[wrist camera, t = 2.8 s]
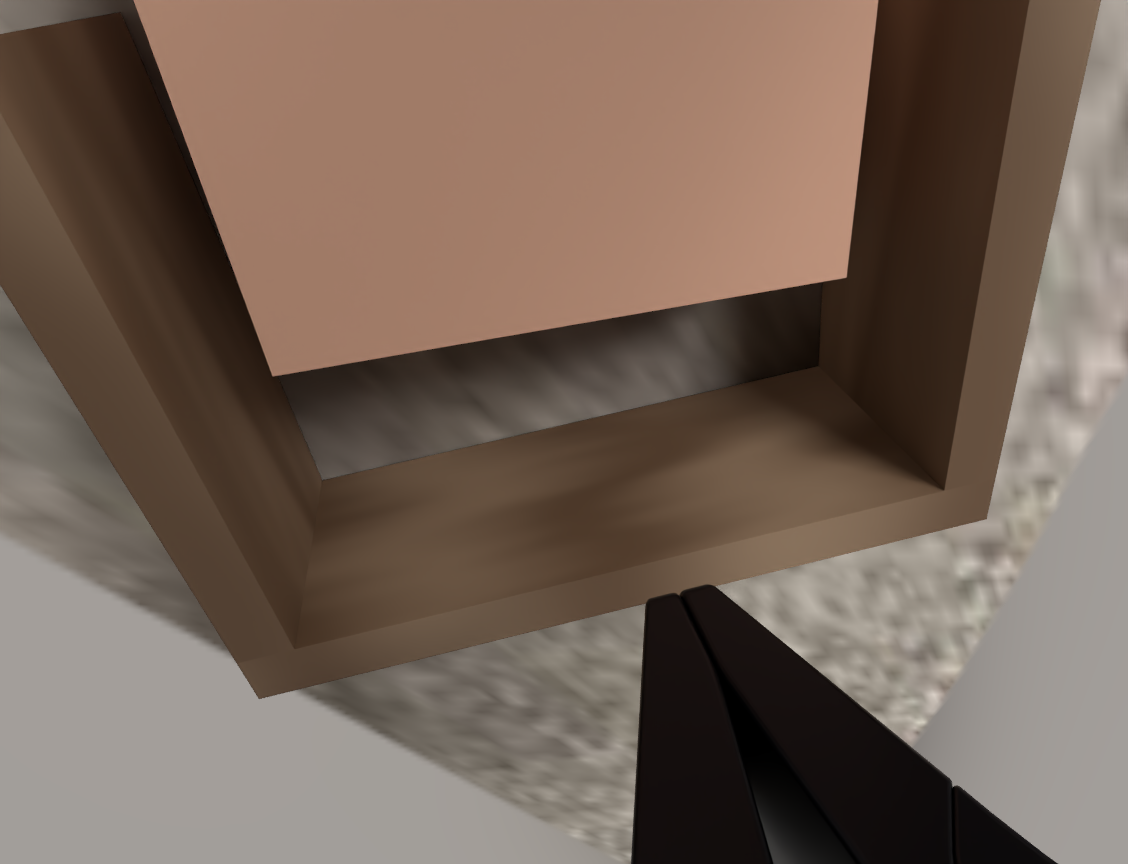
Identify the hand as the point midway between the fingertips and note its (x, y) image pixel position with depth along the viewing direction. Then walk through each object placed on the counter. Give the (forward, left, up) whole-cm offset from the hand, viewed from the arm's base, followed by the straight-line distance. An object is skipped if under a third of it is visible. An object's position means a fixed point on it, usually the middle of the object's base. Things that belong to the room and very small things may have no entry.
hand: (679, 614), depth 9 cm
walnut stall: (0, -2, -8) cm, 9 cm away
